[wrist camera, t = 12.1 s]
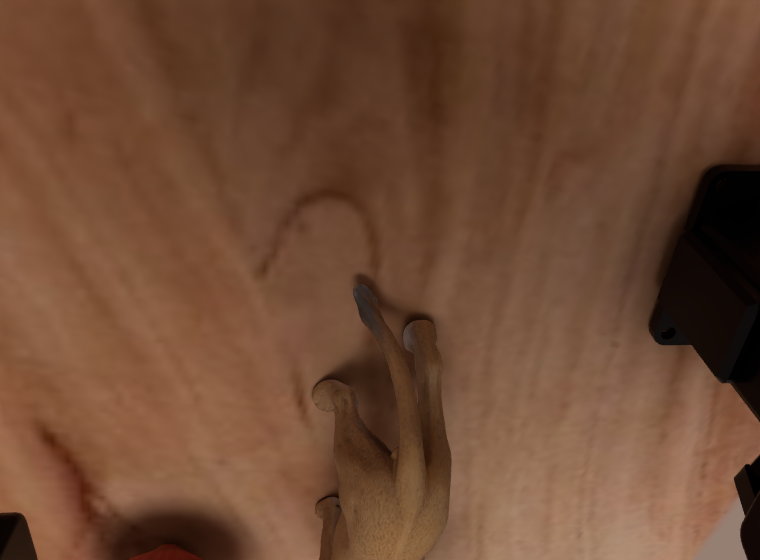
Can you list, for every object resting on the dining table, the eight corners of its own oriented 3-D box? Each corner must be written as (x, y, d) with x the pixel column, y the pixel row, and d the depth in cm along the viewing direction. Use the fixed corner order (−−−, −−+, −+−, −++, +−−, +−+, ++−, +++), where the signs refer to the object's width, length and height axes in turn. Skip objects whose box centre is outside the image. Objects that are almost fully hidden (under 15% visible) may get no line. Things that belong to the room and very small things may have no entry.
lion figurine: (445, 551, 31) (496, 792, 23) (321, 569, 30) (332, 817, 23) (436, 264, 22) (509, 493, 15) (266, 284, 22) (255, 527, 15)
